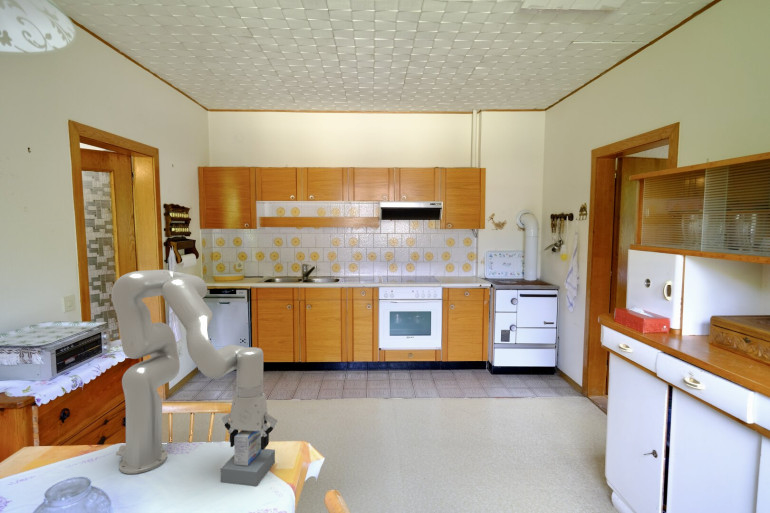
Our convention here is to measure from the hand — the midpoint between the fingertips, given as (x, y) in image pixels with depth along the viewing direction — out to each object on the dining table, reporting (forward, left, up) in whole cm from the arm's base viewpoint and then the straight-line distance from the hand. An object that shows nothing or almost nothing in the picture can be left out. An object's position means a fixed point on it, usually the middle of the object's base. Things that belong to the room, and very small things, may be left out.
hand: (249, 446), depth 111 cm
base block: (0, 0, -8) cm, 8 cm away
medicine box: (0, 0, -4) cm, 4 cm away
